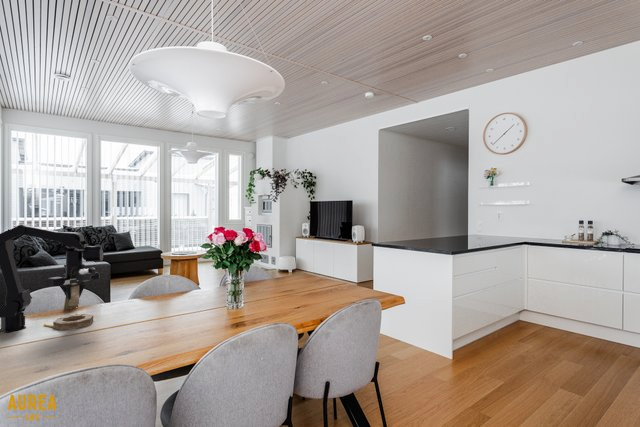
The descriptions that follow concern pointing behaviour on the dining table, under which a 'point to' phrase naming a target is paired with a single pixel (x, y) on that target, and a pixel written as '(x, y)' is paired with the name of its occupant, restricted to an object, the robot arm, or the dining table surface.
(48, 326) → the thin yellow rod
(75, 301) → the beige wooden peg
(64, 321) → the brown octagonal ring
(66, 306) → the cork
